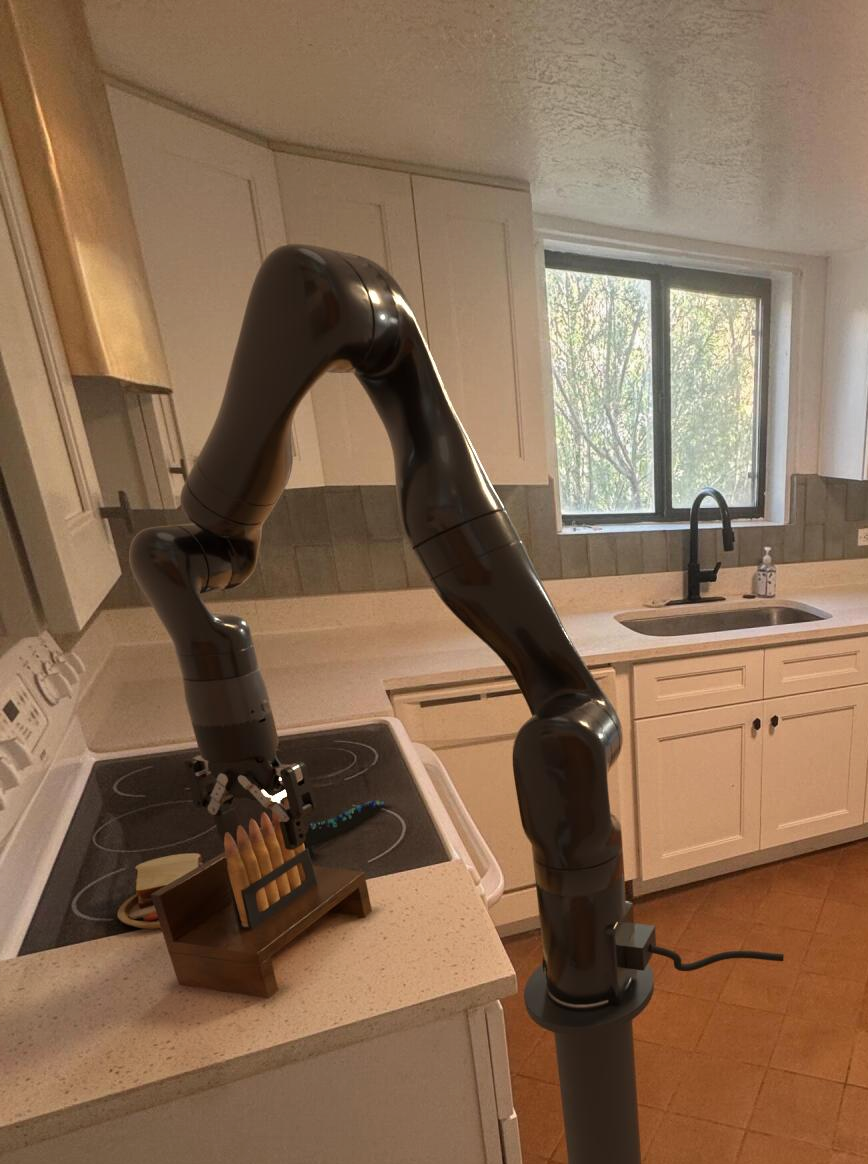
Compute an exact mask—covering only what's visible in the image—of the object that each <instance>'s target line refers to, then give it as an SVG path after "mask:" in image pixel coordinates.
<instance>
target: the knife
mask: <svg viewBox="0 0 868 1164" xmlns="http://www.w3.org/2000/svg"><path fill="white" fill-rule="evenodd" d="M386 804H387V802H386V801H385V800H381V799H380V800H379V799H375V800H369V801H366V802H363V803H360V804H358V805H356V806H354V807H352V808H351V809H348V810H347V811H345V812H343V813H341V814H339V815H336V816H335V817H332V818H330V819H326V820H324V821H318V822H309V823H308V829H307V831H306V832H305V835H306V839H305V841H304V846H305V848H308V850H309V854H310V858H311V859H312V858H314V856H315V854H314V852H313V849H312V847H314V846H317V845H319V844H321V843H323V842H327V841H328V840H330V839H332V838H334V837H337V836H339V835H340V834H342V833H344V832H346V831H348V830H350V829H352V828H354V827H357V825H359V824H361V823H363V822H364V821H366V820H368V819H370V818H371V817H372V816H374V815H376V814H377V813H378V812H379V811H381V810H382V809H383V808H384V807H385V806H386Z"/></svg>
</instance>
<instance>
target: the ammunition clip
mask: <svg viewBox="0 0 868 1164" xmlns="http://www.w3.org/2000/svg"><path fill="white" fill-rule="evenodd" d="M283 806H284V807H285V809H288V808H289V807H288V806H287V805H286V804H285V803H284V802H283ZM271 816H272V817H271V818H272V821H271V819H270V817H269V816H268V814H267V813H266V812H265V811H262V812H261V814H260V826H259V825H258V823H257V822H256V820H254V818H250V819H249V821H248V833H249V834H248V833H247V832H246V830H245V828H244V827H243V826H242V825H241V824H240V825H239V826H238V828H237V839H236V840H234V839H233V838H232V836H231V835H230V834H229V833H228V832H226V833H225V837H224V842H223V847H224V852H225V853H226V858H227V868H228V873H229V877H230V881H231V885H232V888H230V894H231V898H232V903H233V907H234V912H235V916H236V920H237V925H238V928H244V929H254V928H256V927H257V926H259V925H260V924H261V923H263V922H264V921H266V920H267V919H268V918H270V917H271V916H272V915H274V914H275V913H277V912H278V911H279V910H281V909H282V908H283V907H285V906H286V905H288V904H289V903H290V902H292V901H293V900H295V899H296V898H297V897H299V896H300V895H301V894H303V893H304V892H306V891H307V890H308V889H310V888H311V887H313V886H314V885H315V884H317V881H316V877H315V873H314V869H313V866H314V865H313V862H312V858H310V854H309V850H308V848H305V846H304V843H303V844H302V845H301V846H299V847H297V848H296V849H294V850H288V849H286V848H285V844H284V840H283V836H282V832H281V828H280V823H279V822H280V821H281V820H280V819H279V818H278V816H277V815H276V814H275V813H274V812H273V811H272V815H271ZM272 824H273V825H274V829H273V826H272ZM260 828H261V829H260ZM261 830H262V834H263V838H262V834H261ZM274 832H275V833H274ZM248 835H249V836H248ZM249 837H250V840H251V844H250V840H249ZM236 843H237V844H238V847H239V852H238V848H237V846H236V845H237V844H236Z"/></svg>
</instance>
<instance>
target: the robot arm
mask: <svg viewBox="0 0 868 1164" xmlns="http://www.w3.org/2000/svg"><path fill="white" fill-rule="evenodd" d="M326 373H329V374H353V375H354V376H355V378H356V379H357V381H358V382H359V383H360V385H361V386H362V388H363V390H364V391H365V394H366V395H367V397H368V398H369V400H370V402H371V404H372V405H373V408H374V409H375V411H376V413H377V416H378V417H379V419H380V420H381V423H382V424H383V427H384V429H385V431H386V434H387V436H388V439H389V443H390V447H391V451H392V457H393V464H394V478H395V479H394V481H395V493H396V503H397V510H398V516H399V517H398V518H399V521H400V524H401V528H402V532H403V534H404V537H405V539H406V541H407V543H408V545H409V547H410V548H411V550H412V553H413V555H414V557H415V559H416V560H417V562H418V564H419V566H420V567H421V569H422V571H423V573H424V574H425V576H426V579H427V580H428V582H429V583H430V585H431V586H432V588H433V590H434V591H435V593H436V594H437V596H438V597H439V599H440V600H441V602H442V603H443V604H444V605H445V607H447V608H448V610H449V611H450V612H451V613H452V614H453V615H454V617H455V618H456V619H458V620H459V621H460V622H461V623H462V624H463V625H464V626H466V628H467V629H469V630H470V631H471V633H473V634H474V635H475V636H476V637H477V638H478V639H480V640H481V642H483V643H484V644H485V645H486V646H487V647H488V648H490V649H491V651H493V653H494V654H495V655H497V657H498V658H499V659H500V661H502V663H503V665H505V667H506V668H507V669H508V671H509V672H510V674H511V676H512V678H513V679H514V681H515V683H516V685H517V686H518V688H519V690H520V692H521V694H522V696H523V699H524V700H525V703H526V705H527V707H528V709H529V712H530V714H531V716H530V718H529V719H528V720H527V721H525V722H524V723H523V725H521V727H520V728H519V729H518V731H517V733H516V734H515V737H514V741H513V745H512V746H513V747H512V771H513V772H512V773H513V778H514V785H515V791H516V792H515V793H516V798H517V804H518V812H519V818H520V822H521V827H522V830H523V833H524V835H525V837H526V838H527V840H528V841H529V843H530V846H531V852H532V853H531V854H532V863H533V870H534V871H533V872H534V879H535V880H534V881H535V890H536V898H537V908H538V917H539V925H540V934H541V942H542V943H541V944H542V953H543V956H542V964H543V972H544V968H545V970H546V973H545V974H546V979H547V980H546V988H547V994H548V996H549V998H550V1000H551V1001H552V1002H553V1003H555V1004H556V1005H558V1006H559V1007H562V1008H564V1009H568V1010H573V1011H590V1010H596V1009H600V1008H603V1007H606V1006H619V1005H620V1004H621V1002H622V1000H623V998H624V996H625V995H626V993H627V991H628V990H629V988H630V986H631V983H632V982H633V980H634V978H635V976H636V974H637V970H642V971H644V970H645V968H646V966H647V964H649V962H650V960H651V959H652V956H653V954H655V955H659V956H663V957H666V958H669V959H671V960H672V961H673V966H674V969H676V970H677V971H679V972H693V971H695V970H699V969H701V968H705V967H706V966H708V965H711V964H714V963H718V962H721V961H723V960H730V959H752V960H762V961H763V960H764V961H773V962H784V953H774V952H765V951H757V950H756V951H754V950H729V951H724V952H719V953H715V954H713V955H710V956H707V957H705V958H702V959H699V960H697V961H693V962H689V963H688V962H687V963H683V962H682V958H681V956H680V954H679V953H677V952H676V951H674V950H672V949H668V948H665V947H661V946H659V945H658V946H657V940H656V939H657V936H656V925H651V924H643V923H635V915H634V903H633V902H632V901H629V900H627V896H626V895H627V894H626V881H625V880H626V879H625V863H624V850H623V848H624V847H623V831H622V830H623V829H622V825H621V821H620V820H619V818H618V817H617V816H616V815H615V814H613V813H612V812H611V804H610V794H609V781H608V774H609V772H610V771H611V769H612V768H613V767H614V765H615V764H616V762H617V761H618V759H619V757H620V755H621V752H622V749H623V745H624V732H623V727H622V722H621V719H620V717H619V715H618V714H617V711H616V710H615V707H614V706H613V704H612V703H611V701H610V700H609V698H608V696H607V695H606V694H605V692H604V691H603V688H602V686H600V684H599V682H598V681H597V679H595V676H594V675H593V674H592V672H591V671H590V669H589V668H588V666H587V665H586V663H585V661H584V660H583V658H582V656H581V655H580V653H579V652H578V650H577V649H576V647H575V645H574V643H573V642H572V640H571V638H570V637H569V635H568V633H567V631H566V629H565V627H564V625H563V623H562V620H561V618H560V617H559V614H558V612H557V610H556V608H555V606H554V604H553V602H552V599H551V598H550V596H549V594H548V592H547V590H546V589H545V587H544V585H543V582H542V581H541V578H540V577H539V575H538V573H537V571H536V569H535V566H534V564H533V563H532V560H531V559H530V556H529V554H528V551H527V549H526V547H525V546H524V543H523V542H522V540H521V537H520V535H519V534H518V532H517V530H516V528H515V526H514V524H513V522H512V520H511V518H510V516H509V514H508V512H507V510H506V508H505V506H504V505H503V502H502V501H501V499H500V498H499V496H498V494H497V492H496V489H494V486H493V484H492V483H491V481H490V479H489V477H488V475H487V473H486V471H485V469H484V467H483V465H482V463H481V461H480V459H479V457H478V455H477V453H476V450H475V449H474V447H473V445H472V442H471V441H470V439H469V436H468V434H467V433H466V431H465V429H464V426H463V424H462V423H461V421H460V419H459V417H458V414H456V411H455V409H454V407H453V405H452V402H451V399H450V398H449V395H448V394H447V393H448V392H447V391H446V387H445V385H444V383H443V381H442V379H441V376H440V374H439V371H438V368H437V366H436V363H435V361H434V359H433V356H432V354H431V351H430V348H429V345H428V343H427V341H426V339H425V336H424V333H423V331H422V328H421V326H420V323H419V321H418V318H417V316H416V314H415V312H414V310H413V307H412V306H411V303H410V301H409V299H408V297H407V296H406V294H405V292H404V291H403V289H402V287H401V286H400V284H399V283H398V281H397V280H396V279H395V277H394V276H393V275H391V274H390V272H389V271H388V270H387V269H386V268H385V267H383V266H382V265H380V264H379V263H377V262H376V261H374V260H372V259H370V258H367V257H365V256H361V255H360V254H354V253H351V252H344V251H340V250H335V249H331V248H326V247H321V246H317V245H312V244H303V243H289V244H285V245H280V246H278V247H276V248H275V249H274V250H272V251H270V252H269V254H268V255H267V256H266V257H265V259H263V261H262V263H261V264H260V266H259V269H258V271H257V273H256V274H255V278H254V281H253V283H252V286H251V289H250V292H249V296H248V298H247V303H246V307H245V310H244V315H243V318H242V323H241V327H240V331H239V335H238V340H237V343H236V347H235V350H234V352H233V357H232V362H231V366H230V369H229V373H228V377H227V381H226V385H225V386H226V387H225V389H224V394H223V396H222V400H221V404H220V407H219V409H218V413H217V415H216V418H215V421H214V424H213V426H212V428H211V430H210V432H209V434H208V437H207V439H206V441H205V443H204V445H203V447H202V448H201V450H200V452H199V454H198V456H197V458H196V459H195V462H194V464H193V466H192V467H191V469H190V471H189V472H188V475H187V478H186V479H185V481H184V483H183V485H182V488H181V492H180V498H179V500H180V506H181V509H182V511H183V513H184V515H185V516H186V517H187V518H188V519H189V520H190V521H191V522H192V523H182V524H172V525H159V526H151V527H146V528H144V529H142V530H140V531H139V532H137V533H136V535H135V536H134V537H133V538H132V540H131V543H130V546H129V550H128V551H129V552H128V562H129V566H130V570H131V572H132V575H133V578H134V579H135V581H136V583H137V585H138V587H139V588H140V590H141V591H142V592H143V594H144V596H145V598H146V600H148V602H149V603H150V605H151V607H152V608H153V610H154V612H155V613H156V615H157V617H158V619H159V620H160V622H161V624H162V625H163V627H164V629H165V630H166V632H167V633H168V635H169V637H170V639H171V642H172V644H173V647H174V651H175V654H176V655H175V656H176V658H177V663H178V666H179V670H180V674H181V677H182V682H183V691H184V700H185V704H186V707H187V711H188V714H189V718H190V722H191V726H192V729H193V734H194V737H195V740H196V745H197V748H198V751H199V752H198V753H199V755H197V756H194V757H192V758H189V759H186V760H185V761H184V769H185V773H186V778H187V782H188V785H189V786H188V787H189V792H190V795H191V800H192V804H193V806H194V807H195V808H196V809H202V808H204V809H207V812H208V813H209V814H211V815H212V816H213V819H214V823H215V826H216V830H217V833H218V836H219V837H220V839H221V841H222V843H224V837H225V833H226V832H228V833H229V834H230V835H231V836H232V838H233V839H234V841H237V828H238V826H239V825H241V823H240V819H239V816H238V812H237V808H236V807H235V806H234V804H235V802H236V800H238V799H239V800H240V799H248V800H251V801H258V802H259V804H261V805H262V807H264V808H265V809H270V811H272V813H273V812H274V813H275V814H276V815H277V816H278V818H279V819H280V820H281V821H280V822H279V823H280V828H281V832H282V836H283V840H284V844H285V848H286V849H288V850H294V849H296V848H297V847H299V846H301V845H302V844H303V843H304V841H305V839H306V835H305V834H306V830H305V826H304V822H303V817H304V816H305V815H307V814H308V813H310V812H312V811H314V810H315V809H317V803H316V799H315V796H314V792H313V788H312V784H311V781H310V778H309V774H308V770H307V767H306V764H305V762H302V761H296V762H294V763H292V764H282V763H281V762H280V760H279V758H278V756H277V749H278V746H279V744H280V740H279V736H278V731H277V727H276V723H275V718H274V715H273V709H272V705H271V701H270V696H269V692H268V689H267V685H266V683H265V679H264V678H263V675H262V672H261V668H260V665H259V664H260V663H259V661H258V655H257V652H256V647H255V644H254V640H253V639H254V638H253V635H252V631H251V628H250V626H249V624H248V622H247V621H246V620H245V619H244V618H242V617H240V616H238V615H234V614H227V613H223V614H222V613H212V612H211V611H210V610H209V609H208V607H207V606H206V604H205V602H204V601H203V600H202V595H206V594H210V593H211V594H212V593H216V592H218V593H219V592H223V591H228V590H232V589H235V588H238V587H240V586H242V585H243V584H244V583H246V581H248V580H249V578H250V577H251V576H252V575H253V573H254V572H255V570H256V567H257V563H258V559H259V553H260V546H261V542H262V536H263V535H262V534H263V526H264V524H265V522H266V521H267V520H268V518H269V516H270V514H271V513H272V511H273V510H274V508H275V506H276V504H277V503H278V501H279V499H280V498H281V497H282V495H283V493H284V491H285V489H286V488H287V485H288V483H289V480H290V477H291V473H292V469H293V464H294V463H293V461H294V453H293V452H294V451H293V450H294V449H293V441H292V440H293V439H292V428H293V427H292V426H293V420H294V417H295V414H296V412H297V409H298V408H299V406H300V404H301V403H302V401H303V399H305V397H306V395H307V394H308V393H309V392H310V391H311V389H312V388H313V387H314V386H315V384H317V382H318V381H319V380H320V379H321V378H322V377H323V376H324V375H325V374H326ZM204 787H205V791H206V793H204ZM275 789H276V790H277V791H278V793H276V794H274V795H272V793H274V791H275ZM301 800H302V801H301ZM282 802H283V804H282ZM284 803H285V804H286V805H287V806H288V807H289V808H288V809H285V807H284Z"/></svg>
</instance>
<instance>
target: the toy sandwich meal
mask: <svg viewBox="0 0 868 1164" xmlns="http://www.w3.org/2000/svg"><path fill="white" fill-rule="evenodd" d="M202 861H203V859H202V855H201V854H200V853H198V852H197V853H195V852H193V853H191V852H190V853H178V854H171V855H166V856H162V857H161V856H160V857H157V858H153V859H150V860H147V861H144V862H142V863H139V864H137V865H136V866H135V867H134V869H135V873H136V879H135V880H134V885H135V894H134V895H132V896H130V897H129V898H128V899H125V901H124V902H123V903H122V904H121V905H120V906H119V908H118V909H117V910H118V911H117V918H118V920H119V921H120V922H121V923H123V924H125V925H127V926H133V927H134V928H138V929H144V930H145V929H146V930H147V929H161V926H160V923H159V920H158V916H157V913H156V910H155V907H154V904H153V900H152V897H151V894H152V893H154V892H156V891H157V890H159V889H161V888H163V887H164V886H166V885H168V884H170V883H171V882H173V881H175V880H176V879H178V878H180V877H182V876H183V875H185V874H187V873H188V872H190V871H192V870H194V869H195V868H197V867H199V866H201V863H202Z"/></svg>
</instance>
